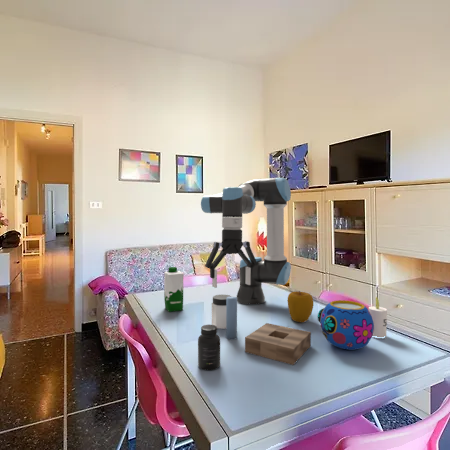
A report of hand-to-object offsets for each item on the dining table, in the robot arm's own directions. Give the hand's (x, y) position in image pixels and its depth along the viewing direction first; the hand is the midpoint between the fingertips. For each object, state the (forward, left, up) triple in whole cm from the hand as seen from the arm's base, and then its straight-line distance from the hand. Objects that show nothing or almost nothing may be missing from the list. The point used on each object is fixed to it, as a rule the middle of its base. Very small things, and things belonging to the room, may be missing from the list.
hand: (231, 285), depth 119 cm
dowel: (0, 0, -20) cm, 20 cm away
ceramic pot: (-15, +38, -20) cm, 45 cm away
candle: (-32, +46, -20) cm, 60 cm away
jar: (-9, -10, -20) cm, 24 cm away
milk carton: (-15, -42, -20) cm, 49 cm away
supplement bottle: (+23, +6, -20) cm, 31 cm away
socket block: (0, +19, -20) cm, 27 cm away
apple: (-33, +15, -20) cm, 42 cm away
